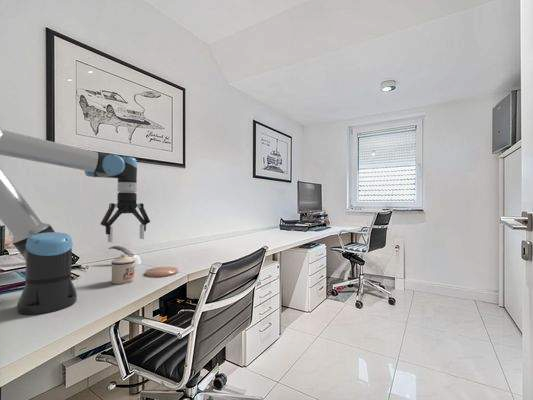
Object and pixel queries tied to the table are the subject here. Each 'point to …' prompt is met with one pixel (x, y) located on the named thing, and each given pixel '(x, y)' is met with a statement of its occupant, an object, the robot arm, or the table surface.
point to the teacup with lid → (123, 270)
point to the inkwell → (130, 254)
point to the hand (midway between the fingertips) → (126, 240)
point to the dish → (161, 272)
